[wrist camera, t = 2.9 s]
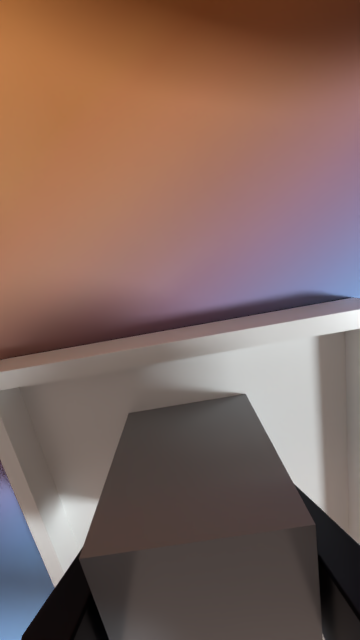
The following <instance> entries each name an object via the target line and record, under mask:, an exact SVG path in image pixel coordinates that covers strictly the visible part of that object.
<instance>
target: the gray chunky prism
mask: <svg viewBox="0 0 360 640" xmlns="http://www.w3.org/2000/svg"><path fill="white" fill-rule="evenodd" d="M79 561H80V563H81V566H82V569H83V571H84V574H85V577H86V579H87V582H88V585H89V587H90V590H91V593H92V595H93V598H94V600H95V603H96V606H97V608H98V611H99V614H100V616H101V619H102V622H103V624H104V627H105V630H106V632H107V635H108V638H109V640H323V636H322V620H321V604H320V588H319V572H318V556H317V540H316V524H315V523H314V521H313V519H312V517H311V515H310V513H309V511H308V509H307V508H306V506H305V504H304V502H303V500H302V498H301V496H300V495H299V493H298V491H297V489H296V487H295V485H294V483H293V481H292V480H291V478H290V476H289V474H288V472H287V470H286V468H285V467H284V465H283V463H282V461H281V459H280V457H279V455H278V453H277V452H276V450H275V448H274V446H273V444H272V442H271V440H270V438H269V437H268V435H267V433H266V431H265V429H264V427H263V425H262V424H261V422H260V420H259V418H258V416H257V414H256V412H255V410H254V409H253V407H252V405H251V403H250V401H249V399H248V397H247V395H246V394H241V395H235V396H228V397H222V398H216V399H210V400H204V401H198V402H192V403H186V404H180V405H174V406H168V407H162V408H156V409H150V410H144V411H138V412H132V413H129V414H128V417H127V419H126V422H125V425H124V428H123V431H122V434H121V437H120V440H119V443H118V446H117V449H116V452H115V455H114V458H113V460H112V463H111V466H110V469H109V472H108V475H107V478H106V481H105V484H104V487H103V490H102V493H101V496H100V499H99V501H98V504H97V507H96V510H95V513H94V516H93V519H92V522H91V525H90V528H89V531H88V534H87V537H86V540H85V542H84V545H83V548H82V551H81V554H80V557H79Z"/></svg>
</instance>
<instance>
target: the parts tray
mask: <svg viewBox="0 0 360 640" xmlns="http://www.w3.org/2000/svg"><path fill="white" fill-rule="evenodd" d="M241 394H246V395H247V397H248V399H249V401H250V403H251V405H252V407H253V409H254V410H255V412H256V414H257V416H258V418H259V420H260V422H261V424H262V425H263V427H264V429H265V431H266V433H267V435H268V437H269V438H270V440H271V442H272V444H273V446H274V448H275V450H276V452H277V453H278V455H279V457H280V459H281V461H282V463H283V465H284V467H285V468H286V470H287V472H288V474H289V476H290V478H291V480H292V481H293V483H294V484H295V485H296V486H297V487H298V488H299V489H300V490H301V491H302V492H304V493H305V494H306V495H307V496H308V497H309V498H310V499H311V500H312V501H313V502H314V503H315V504H316V505H317V506H319V507H320V508H321V509H322V510H323V511H324V512H325V513H326V514H327V515H328V516H329V517H330V518H331V519H332V520H334V521H335V522H336V523H337V524H338V525H339V526H340V527H341V528H342V529H343V530H344V531H345V532H346V533H347V534H348V535H350V536H351V537H352V538H353V539H354V540H355V541H356V542H357V543H358V544H359V545H360V298H354V297H353V298H347V299H342V300H336V301H330V302H325V303H319V304H313V305H308V306H302V307H296V308H291V309H285V310H279V311H274V312H268V313H262V314H257V315H251V316H245V317H240V318H234V319H229V320H223V321H217V322H212V323H206V324H200V325H195V326H189V327H183V328H178V329H172V330H166V331H161V332H155V333H149V334H144V335H138V336H132V337H127V338H121V339H115V340H110V341H104V342H98V343H93V344H87V345H81V346H76V347H70V348H64V349H59V350H53V351H47V352H42V353H36V354H30V355H25V356H19V357H13V358H8V359H2V360H0V460H1V463H2V465H3V467H4V470H5V472H6V475H7V477H8V479H9V482H10V484H11V486H12V489H13V491H14V493H15V496H16V498H17V500H18V503H19V505H20V507H21V510H22V512H23V515H24V517H25V519H26V522H27V524H28V526H29V529H30V531H31V533H32V536H33V538H34V540H35V543H36V545H37V547H38V550H39V552H40V555H41V557H42V559H43V562H44V564H45V566H46V569H47V571H48V573H49V576H50V578H51V580H52V583H53V585H54V587H56V585H57V584H58V582H59V581H60V580H61V578H62V577H63V575H64V574H65V572H66V571H67V569H68V568H69V566H70V565H71V563H72V562H73V560H74V559H75V558H76V556H77V555H78V553H79V552H80V550H81V549H82V547H83V545H84V542H85V540H86V537H87V534H88V531H89V528H90V525H91V522H92V519H93V516H94V513H95V510H96V507H97V504H98V501H99V499H100V496H101V493H102V490H103V487H104V484H105V481H106V478H107V475H108V472H109V469H110V466H111V463H112V460H113V458H114V455H115V452H116V449H117V446H118V443H119V440H120V437H121V434H122V431H123V428H124V425H125V422H126V419H127V417H128V414H129V413H132V412H138V411H144V410H150V409H156V408H162V407H168V406H174V405H180V404H186V403H192V402H198V401H204V400H210V399H216V398H222V397H228V396H235V395H241ZM322 636H323V634H322ZM323 640H325V638H324V636H323Z"/></svg>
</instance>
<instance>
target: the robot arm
mask: <svg viewBox="0 0 360 640" xmlns="http://www.w3.org/2000/svg"><path fill="white" fill-rule="evenodd" d="M294 485H295V484H294ZM295 487H296V489H297V491H298V493H299V495H300V496H301V498H302V500H303V502H304V504H305V506H306V508H307V509H308V511H309V513H310V515H311V517H312V519H313V521H314V523H315V524H316V540H317V556H318V572H319V588H320V604H321V620H322V634H323V636H324V638H325V640H360V545H359V544H358V543H357V542H356V541H355V540H354V539H353V538H352V537H351V536H350V535H348V534H347V533H346V532H345V531H344V530H343V529H342V528H341V527H340V526H339V525H338V524H337V523H336V522H335V521H334V520H332V519H331V518H330V517H329V516H328V515H327V514H326V513H325V512H324V511H323V510H322V509H321V508H320V507H319V506H317V505H316V504H315V503H314V502H313V501H312V500H311V499H310V498H309V497H308V496H307V495H306V494H305V493H304V492H302V491H301V490H300V489H299V488H298V487H297V486H296V485H295ZM82 548H83V547H82ZM81 551H82V549H81V550H80V552H79V553H78V555H77V556H76V558H75V559H74V560H73V562H72V563H71V565H70V566H69V568H68V569H67V571H66V572H65V574H64V575H63V577H62V578H61V580H60V581H59V582H58V584H57V585H56V587H55V588H54V590H53V591H52V593H51V594H50V596H49V597H48V599H47V600H46V602H45V603H44V605H43V606H42V607H41V609H40V610H39V612H38V613H37V615H36V616H35V618H34V619H33V621H32V622H31V624H30V625H29V627H28V628H27V629H26V631H25V632H24V634H23V635H22V639H21V640H109V638H108V635H107V632H106V630H105V627H104V624H103V622H102V619H101V616H100V614H99V611H98V608H97V606H96V603H95V600H94V598H93V595H92V593H91V590H90V587H89V585H88V582H87V579H86V577H85V574H84V571H83V569H82V566H81V563H80V561H79V557H80V554H81Z"/></svg>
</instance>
